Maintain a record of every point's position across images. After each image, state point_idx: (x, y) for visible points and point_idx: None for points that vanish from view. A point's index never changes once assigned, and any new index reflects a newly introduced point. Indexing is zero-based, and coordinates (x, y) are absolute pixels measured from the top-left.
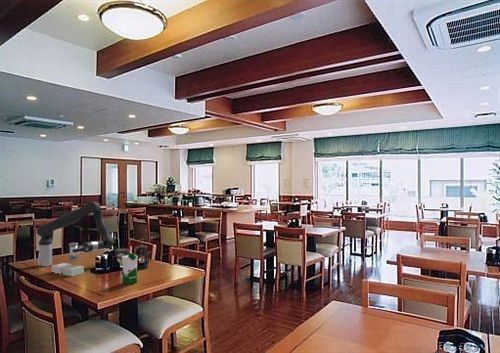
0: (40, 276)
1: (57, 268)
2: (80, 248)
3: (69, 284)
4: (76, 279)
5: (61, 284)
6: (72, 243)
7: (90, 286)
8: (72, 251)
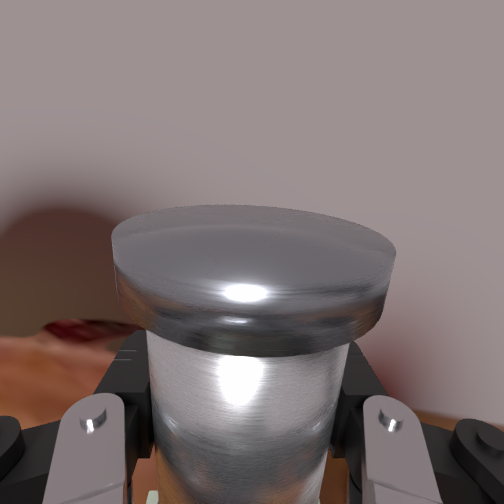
0: None
1: None
2: (6, 443)
3: (32, 385)
4: None
5: (90, 368)
6: (278, 225)
7: None
8: None
